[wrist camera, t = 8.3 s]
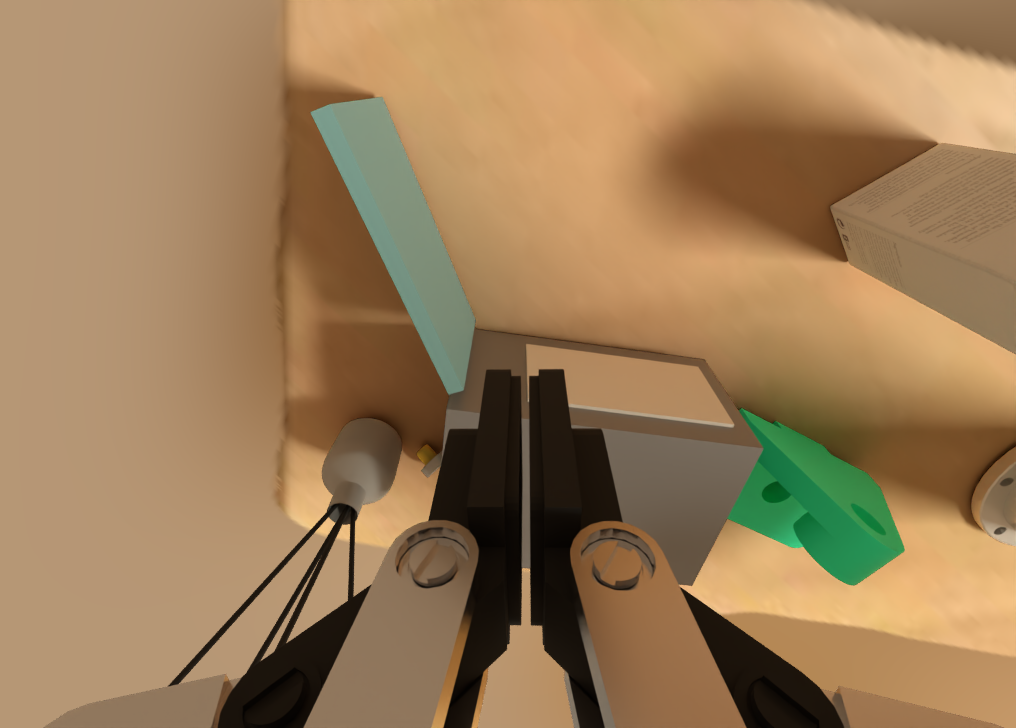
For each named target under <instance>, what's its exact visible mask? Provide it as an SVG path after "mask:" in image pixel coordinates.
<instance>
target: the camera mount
mask: <svg viewBox="0 0 1016 728" xmlns="http://www.w3.org/2000/svg"><path fill="white" fill-rule="evenodd" d="M739 412H740V414H741V415H742V417H743V418H744V420H745V421H746V423H747V424H748V426H749V427H750V429H751V430H752V432H753V433H754V435H755V436H756V438H757V439H758V441H759V442H760V444H761V445H762V447H763V448H764V449H763V451H762V453H761V455H760V457H759V458H758V460H757V462H756V464H755V466H754V468H753V470H752V472H751V474H750V476H749V478H748V480H747V481H746V483H745V485H744V487H743V489H742V491H741V493H740V495H739V497H738V499H737V501H736V503H735V504H734V506H733V508H732V510H731V512H730V514H729V516H728V518H727V519H729V520H732V521H734V522H736V523H738V524H741V525H743V526H745V527H747V528H749V529H752V530H754V531H756V532H758V533H761V534H763V535H765V536H767V537H769V538H772V539H774V540H776V541H778V542H781V543H783V544H785V545H787V546H790V547H793V548H800V547H804V548H805V549H806V551H807V552H808V553H809V554H810V555H811V556H812V557H813V559H814V560H815V561H816V562H817V563H818V564H819V565H821V566H822V567H823V568H824V569H825V570H826V571H827V572H829V573H830V574H831V575H833V576H834V577H835V578H837V579H838V580H840V581H842V582H844V583H846V584H849V585H857V584H858V583H860V582H861V581H863V580H864V579H865V578H867V577H868V576H870V575H871V574H873V573H874V572H875V571H877V570H878V569H880V568H881V567H883V566H884V565H886V564H887V563H888V562H890V561H891V560H893V559H894V558H896V557H897V556H899V555H900V554H901V553H903V552H904V550H905V549H904V545H903V543H902V540H901V538H900V535H899V533H898V530H897V528H896V526H895V523H894V521H893V518H892V516H891V513H890V511H889V508H888V506H887V503H886V501H885V498H884V496H883V493H882V491H881V488H880V487H879V486H878V485H877V484H876V483H875V481H874V480H873V479H872V478H871V477H870V476H869V475H868V474H867V473H866V472H864V471H862V470H860V469H858V468H856V467H854V466H852V465H850V464H848V463H846V462H845V461H843V460H841V459H839V458H837V457H835V456H833V455H831V454H830V453H829V452H828V450H827V449H826V448H825V447H824V446H823V445H821V444H819V443H817V442H815V441H813V440H811V439H809V438H808V437H806V436H804V435H802V434H800V433H798V432H796V431H794V430H792V429H790V428H788V427H786V426H785V425H783V424H781V423H779V422H777V421H775V422H774V423H773V424H771V423H770V422H768V421H766V420H764V419H762V418H760V417H758V416H756V415H754V414H752V413H750V412H748V411H746V410H745V409H743V408H741V409H740V410H739Z"/></svg>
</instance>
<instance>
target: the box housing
mask: <svg viewBox="0 0 1016 728" xmlns="http://www.w3.org/2000/svg"><path fill="white" fill-rule="evenodd" d="M489 369H511V374H512V376H521V406H522V470H523V492H522V568H530V463H529V376H538V375H539V369H564V374H565V382H566V390H567V397H568V405H569V412H570V420H571V428H601V429H602V431H603V434H604V439H605V443H606V448H607V452H608V457H609V462H610V466H611V471H612V475H613V480H614V484H615V489H616V493H617V498H618V502H619V507H620V512H621V516H622V521H623V523H627V524H631V525H633V526H635V527H637V528H639V529H641V530H643V531H645V532H646V533H647V534H648V535H649V536H651V537H652V538H653V539H654V540H655V541H656V542H657V544H658V545H659V547H660V548H661V550H662V551H663V553H664V555H665V557H666V559H667V561H668V563H669V566H670V568H671V570H672V572H673V574H674V576H675V578H676V580H677V582H678V584H680V585H689V586H692V585H693V583H694V581H695V579H696V577H697V575H698V573H699V571H700V570H701V568H702V566H703V564H704V562H705V560H706V558H707V556H708V554H709V552H710V550H711V548H712V547H713V545H714V543H715V541H716V539H717V537H718V535H719V533H720V531H721V529H722V527H723V525H724V524H725V522H726V520H727V518H728V516H729V514H730V512H731V510H732V508H733V506H734V504H735V503H736V501H737V499H738V497H739V495H740V493H741V491H742V489H743V487H744V485H745V483H746V481H747V480H748V478H749V476H750V474H751V472H752V470H753V468H754V466H755V464H756V462H757V460H758V458H759V457H760V455H761V453H762V451H763V449H764V448H763V447H762V445H761V444H760V442H759V441H758V439H757V438H756V436H755V435H754V433H753V432H752V430H751V429H750V427H749V426H748V424H747V423H746V421H745V420H744V418H743V417H742V415H741V414H740V412H739V411H738V409H737V408H736V406H735V405H734V403H733V402H732V400H731V399H730V397H729V396H728V394H727V393H726V391H725V390H724V388H723V387H722V385H721V384H720V382H719V381H718V379H717V378H716V376H715V375H714V373H713V372H712V370H711V369H710V367H709V366H708V364H707V363H706V361H705V360H703V359H695V358H688V357H681V356H673V355H666V354H658V353H651V352H643V351H636V350H628V349H621V348H613V347H606V346H598V345H591V344H584V343H576V342H569V341H561V340H554V339H546V338H539V337H531V336H524V335H516V334H509V333H501V332H494V331H487V330H479V329H474V333H473V339H472V345H471V351H470V357H469V363H468V368H467V374H466V380H465V386H464V390H463V391H460V392H456V393H453V394H450V395H449V400H448V404H447V409H446V419H445V430H444V440H443V451H442V458H443V453H444V449H445V444H446V440H447V435H448V432H449V430H450V429H478V424H479V417H480V410H481V403H482V395H483V388H484V381H485V374H486V370H489ZM441 462H442V461H441Z"/></svg>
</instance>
